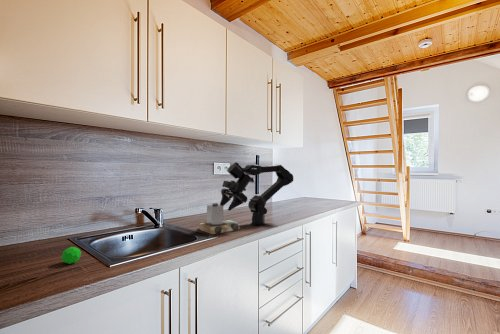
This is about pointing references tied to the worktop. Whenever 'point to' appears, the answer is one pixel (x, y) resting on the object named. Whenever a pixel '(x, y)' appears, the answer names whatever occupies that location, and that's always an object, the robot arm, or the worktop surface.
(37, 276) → the worktop surface
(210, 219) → the grey rectangular block
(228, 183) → the robot arm
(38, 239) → the worktop surface
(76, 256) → the polyhedron
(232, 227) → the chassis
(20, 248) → the worktop surface
